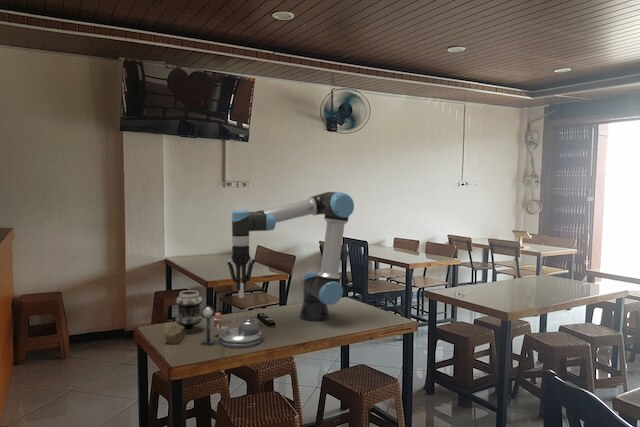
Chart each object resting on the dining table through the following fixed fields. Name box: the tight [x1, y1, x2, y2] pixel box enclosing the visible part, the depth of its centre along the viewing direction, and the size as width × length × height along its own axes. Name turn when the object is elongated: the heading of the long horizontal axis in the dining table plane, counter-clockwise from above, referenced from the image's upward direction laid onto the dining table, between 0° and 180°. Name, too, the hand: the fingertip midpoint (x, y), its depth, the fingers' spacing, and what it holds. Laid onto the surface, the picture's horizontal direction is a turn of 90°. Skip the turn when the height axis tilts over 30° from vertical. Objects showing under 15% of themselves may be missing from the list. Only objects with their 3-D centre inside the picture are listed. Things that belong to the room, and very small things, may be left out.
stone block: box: [164, 325, 185, 345], centre depth 211 cm, size 6×12×5 cm, turn 2°
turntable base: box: [217, 334, 263, 349], centre depth 212 cm, size 19×19×2 cm
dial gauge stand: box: [200, 305, 222, 346], centre depth 207 cm, size 8×5×16 cm, turn 89°
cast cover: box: [237, 317, 260, 335], centre depth 213 cm, size 9×9×6 cm
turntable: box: [212, 312, 262, 343], centre depth 212 cm, size 18×22×9 cm
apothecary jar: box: [174, 289, 203, 335], centre depth 223 cm, size 12×12×18 cm
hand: (241, 297), depth 218 cm, fingers closed
